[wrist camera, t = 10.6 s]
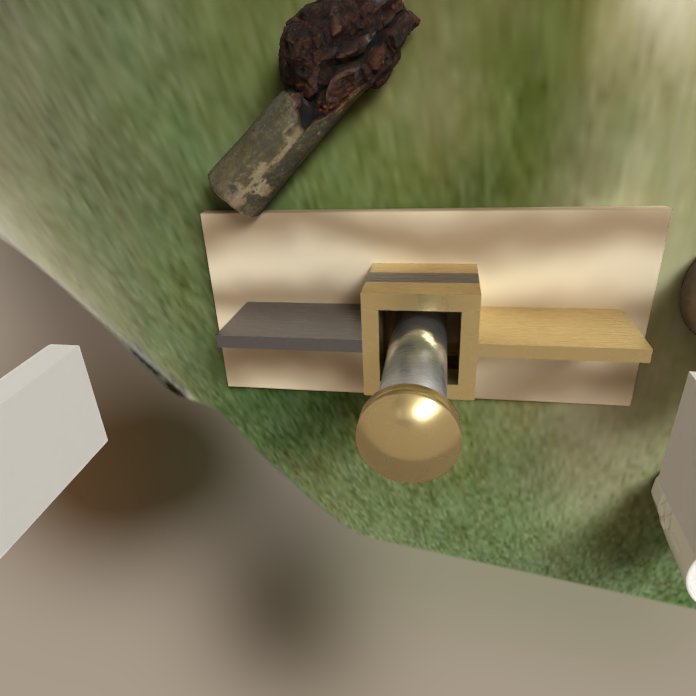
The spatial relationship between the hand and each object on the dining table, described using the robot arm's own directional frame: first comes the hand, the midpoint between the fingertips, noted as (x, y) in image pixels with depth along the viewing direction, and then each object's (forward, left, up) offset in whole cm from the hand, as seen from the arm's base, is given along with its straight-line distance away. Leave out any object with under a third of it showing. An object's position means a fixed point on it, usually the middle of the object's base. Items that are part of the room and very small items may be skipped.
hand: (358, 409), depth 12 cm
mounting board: (+10, 0, -32) cm, 34 cm away
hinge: (+10, 0, -31) cm, 33 cm away
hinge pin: (+10, 0, -31) cm, 32 cm away
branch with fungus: (-6, -8, -33) cm, 34 cm away
